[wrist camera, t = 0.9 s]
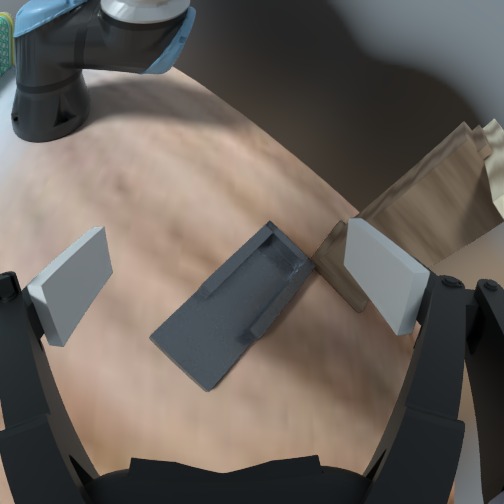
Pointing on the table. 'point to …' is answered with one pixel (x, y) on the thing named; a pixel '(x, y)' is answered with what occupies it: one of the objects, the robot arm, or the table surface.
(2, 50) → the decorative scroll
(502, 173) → the ash bar
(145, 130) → the table surface
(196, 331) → the channel rail
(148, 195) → the table surface
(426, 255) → the walnut stand
